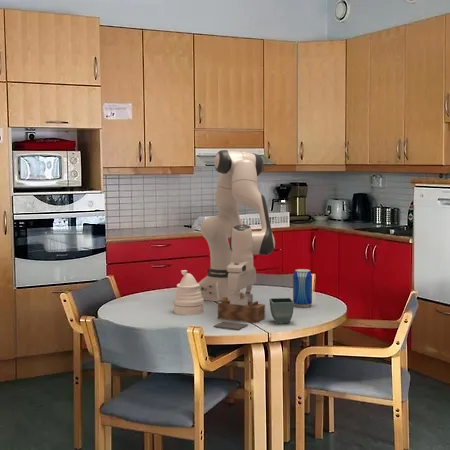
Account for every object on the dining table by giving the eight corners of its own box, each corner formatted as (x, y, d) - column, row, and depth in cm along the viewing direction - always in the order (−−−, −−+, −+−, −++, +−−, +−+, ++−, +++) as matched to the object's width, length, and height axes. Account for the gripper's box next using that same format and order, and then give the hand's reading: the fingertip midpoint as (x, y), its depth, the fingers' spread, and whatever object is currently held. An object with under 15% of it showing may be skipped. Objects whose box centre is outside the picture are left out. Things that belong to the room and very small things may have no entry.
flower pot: (268, 319, 279) (268, 298, 278) (290, 319, 280) (290, 297, 279) (272, 325, 271) (272, 302, 270) (294, 324, 271) (294, 302, 271)
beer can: (311, 308, 301) (311, 272, 299) (292, 307, 302) (292, 271, 301) (312, 304, 309) (312, 268, 307) (294, 303, 311) (294, 268, 309)
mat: (213, 327, 267) (213, 325, 267) (222, 322, 274) (222, 321, 274) (238, 330, 262) (238, 328, 262) (247, 325, 270) (247, 324, 269)
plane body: (217, 318, 283) (217, 299, 282) (225, 314, 289) (225, 295, 288) (257, 322, 275) (257, 302, 274) (264, 318, 281) (264, 299, 280)
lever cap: (229, 304, 281) (229, 293, 280) (235, 302, 285) (235, 291, 285) (247, 306, 277) (247, 295, 277) (252, 303, 282) (252, 292, 281)
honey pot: (181, 316, 287) (180, 273, 285) (169, 310, 298) (168, 269, 296) (208, 313, 292) (208, 271, 291) (195, 307, 304) (195, 267, 302)
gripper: (245, 261, 290) (246, 293, 291) (224, 268, 272) (225, 302, 273) (259, 261, 287) (260, 294, 289) (239, 268, 269) (239, 303, 270)
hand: (243, 298), depth 281 cm, fingers open, 8 cm apart
